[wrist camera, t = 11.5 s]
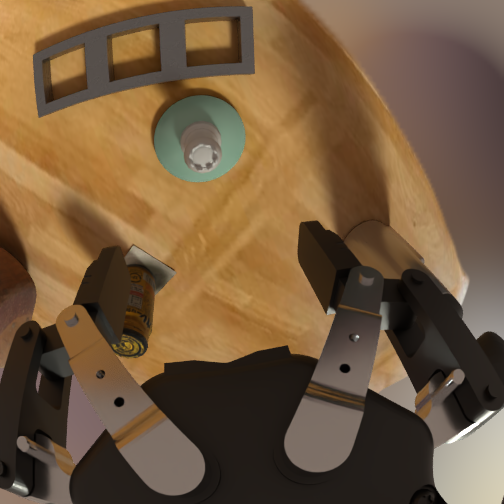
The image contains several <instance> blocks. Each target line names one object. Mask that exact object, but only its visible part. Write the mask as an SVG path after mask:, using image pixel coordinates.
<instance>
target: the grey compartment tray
mask: <svg viewBox="0 0 504 504" xmlns="http://www.w3.org/2000/svg"><path fill="white" fill-rule="evenodd" d="M235 20H237V26H238V53H239V63H229V64H214V65H202V66H193V67H187V58H186V37H185V24H188V23H198V22H211V21H235ZM155 28H159V30H160V53H161V69H162V71H158V72H153V73H148V74H143V75H138V76H133V77H129V78H125V79H121V80H117V81H114V69H113V53H112V38H115V37H119V36H123V35H127V34H131V33H135V32H140V31H144V30H149V29H155ZM83 47H85V60H86V74H87V85H88V89H85V90H82V91H79V92H76V93H74V94H71V95H68V96H65V97H62V98H60V99H57V100H55V101H53V94H52V84H51V72H50V60H52V59H55V58H57V57H59V56H62V55H64V54H67V53H69V52H72V51H75V50H77V49H80V48H83ZM33 68H34V83H35V93H36V102H37V109H38V116H39V118H40V117H43V116H46V115H48V114H51V113H53V112H56V111H59V110H61V109H64V108H67V107H70V106H73V105H76V104H79V103H82V102H85V101H88V100H91V99H95V98H98V97H102V96H105V95H109V94H113V93H117V92H121V91H125V90H129V89H134V88H138V87H143V86H148V85H153V84H159V83H165V82H171V81H178V80H185V79H193V78H202V77H213V76H227V75H250V74H255V67H254V38H253V11H252V7H244V6H237V7H209V8H196V9H187V10H178V11H171V12H165V13H159V14H153V15H148V16H143V17H138V18H134V19H130V20H126V21H122V22H118V23H114V24H111V25H107V26H104V27H101V28H97V29H94V30H91V31H88V32H85V33H83V34H80V35H77V36H75V37H72V38H69V39H67V40H64V41H62V42H60V43H57V44H55V45H53V46H50V47H48V48H46V49H44V50H42V51H40V52H38V53H36V54H34V55H33Z"/></svg>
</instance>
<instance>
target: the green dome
mask: <svg viewBox="0 0 504 504" xmlns="http://www.w3.org/2000/svg"><path fill="white" fill-rule="evenodd" d="M198 121H205V122H210V123H212V124H213V125H214V126H216V127H217V129H218V130H219V132H220V134H221V141H222V144H221V150H222V158H221V161H220V163H219V165H218V166H217V167H216V168H215V169H214V170H212V171H210V172H207V173H198V172H194V171H193V170H191V169H190V168H188V166H187V165H186V163H185V161H184V153H183V151H182V150H181V144H180V138H181V134H182V132H183V131H184V129H185V128H186V127H187V126H188V125H190V124H192V123H193V122H198ZM244 145H245V129H244V125H243V122H242V120H241V118H240V116H239V114H238V113H237V112H236V110H235V109H234V108H233V107H232V106H231V105H229V104H228V103H226V102H225V101H223V100H221V99H219V98H216V97H212V96H207V95H196V96H190V97H187V98H184V99H182V100H180V101H178V102H176V103H175V104H173V105H172V106H171V107H170V108H168V109H167V110H166V112H165V113H164V114H163V115H162V117H161V118H160V120H159V122H158V124H157V127H156V130H155V135H154V147H155V151H156V154H157V157H158V159H159V161H160V163H161V164H162V165H163V167H164V168H165V169H166V170H167V171H168V172H170V173H171V174H172V175H174V176H176V177H178V178H180V179H182V180H186V181H191V182H205V181H210V180H213V179H216V178H218V177H220V176H222V175H224V174H225V173H227V172H228V171H229V170H230V169H231V168H232V167H233V166H234V165H235V164H236V163H237V161H238V160H239V158H240V156H241V154H242V152H243V149H244Z"/></svg>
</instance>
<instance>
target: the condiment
mask: <svg viewBox="0 0 504 504" xmlns="http://www.w3.org/2000/svg"><path fill="white" fill-rule="evenodd" d="M124 259H125V262H126V265H127V268H128V270H129V273H130V277H131V289H130V294H129V299H128V304H127V309H126V315H125V321H124V327H123V333H122V339H121V344H111V349H112V350H113V352H114V353H115V354H116V355H118V356H120V357H125V358H136V357H139V356H142V355H143V354H144V353H145V352H146V350H147V348H148V343H147V342H148V339H149V336H150V334H151V332H152V322H153V310H154V298H155V295H156V294H157V293H158V292H159V291H160V290H161V289H162V288H163V287H164V286H165V284H167V282H168V281H169V280H170V279H171V278H172V277H173V276H174V275H175V274H176V272H175V271H173V270H172V269H171V268H169V267H167V266H166V265H164V264H163V263H161V262H160V261H158V260H156V259H155V258H153V257H152V256H150V255H148V254H147V253H145V252H144V251H142V250H140V249H139V248H137V247H135V246H134V245H133V247H132V248H131V249H130V251H129V252H128V253H127V255H126V256H125V258H124ZM136 263H137V264H136Z"/></svg>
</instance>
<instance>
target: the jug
mask: <svg viewBox="0 0 504 504" xmlns="http://www.w3.org/2000/svg"><path fill="white" fill-rule="evenodd" d="M35 302H36V287H35V284H34V282H33V280H32V278H31V276H30V275H29V273H28V272H27V271H26V270H25V268H24V267H23V266H22V265H21V264H20V263H19V261H18V260H17V259H15V258H14V257H13V256H12V255H11V254H10V253H9V252H7V251H6V250H4V249H3V248H1V247H0V368H4V367H5V364H6V360H7V357H8V354H9V350H10V347H11V344H12V341H13V339H14V336H15V333H16V331H17V330H18V328H19V327H20V326H21V325H22V324H24V323H25V322H27V321H31V319H32V315H33V311H34V306H35Z"/></svg>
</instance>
